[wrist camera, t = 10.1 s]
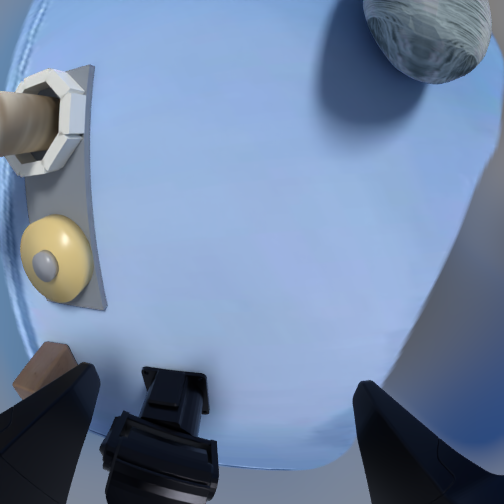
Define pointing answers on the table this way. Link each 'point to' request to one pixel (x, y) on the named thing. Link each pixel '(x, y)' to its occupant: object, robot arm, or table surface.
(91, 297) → the board
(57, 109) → the peg
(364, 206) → the table surface
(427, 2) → the grey streaked oval stone
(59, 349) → the wooden block
